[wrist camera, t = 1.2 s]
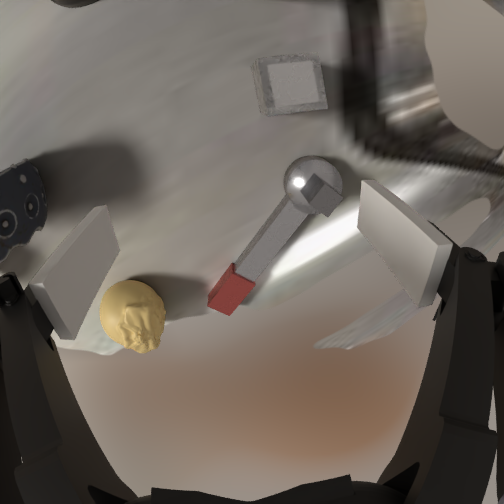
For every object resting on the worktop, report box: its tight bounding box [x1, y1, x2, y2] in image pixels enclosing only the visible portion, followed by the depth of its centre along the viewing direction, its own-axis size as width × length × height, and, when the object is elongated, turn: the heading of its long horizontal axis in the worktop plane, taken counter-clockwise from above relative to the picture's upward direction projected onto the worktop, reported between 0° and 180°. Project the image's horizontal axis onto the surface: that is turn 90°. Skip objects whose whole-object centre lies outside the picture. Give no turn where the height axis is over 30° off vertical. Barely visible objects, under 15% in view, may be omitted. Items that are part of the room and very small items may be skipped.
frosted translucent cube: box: [251, 52, 328, 117], centre depth 29 cm, size 7×7×9 cm
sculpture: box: [100, 280, 166, 353], centre depth 45 cm, size 12×12×11 cm
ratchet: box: [207, 156, 343, 316], centre depth 42 cm, size 30×8×8 cm, turn 146°
